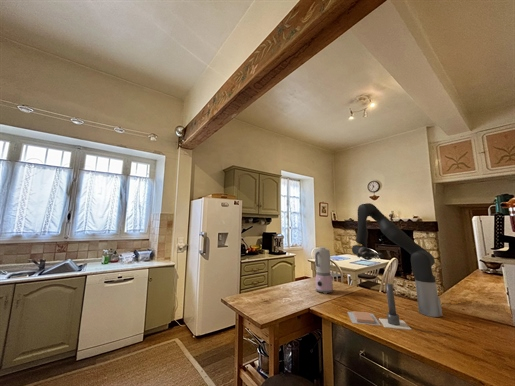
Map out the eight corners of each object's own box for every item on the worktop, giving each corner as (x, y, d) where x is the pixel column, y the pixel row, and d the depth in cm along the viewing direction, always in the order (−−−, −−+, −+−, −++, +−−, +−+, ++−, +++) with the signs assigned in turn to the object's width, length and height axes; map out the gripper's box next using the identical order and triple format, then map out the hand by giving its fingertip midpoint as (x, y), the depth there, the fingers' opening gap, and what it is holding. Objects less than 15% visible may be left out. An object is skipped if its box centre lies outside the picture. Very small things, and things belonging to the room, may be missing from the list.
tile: (368, 312, 112) (374, 320, 102) (369, 315, 112) (374, 323, 102) (352, 311, 114) (356, 319, 104) (353, 314, 113) (357, 322, 104)
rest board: (402, 322, 104) (402, 320, 104) (411, 331, 96) (411, 328, 96) (378, 320, 107) (378, 318, 107) (384, 328, 98) (384, 326, 98)
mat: (372, 314, 114) (372, 313, 114) (381, 326, 100) (381, 325, 100) (347, 312, 117) (347, 311, 117) (352, 324, 103) (352, 322, 103)
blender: (321, 288, 163) (319, 246, 168) (336, 291, 154) (333, 247, 159) (310, 292, 152) (308, 247, 157) (325, 296, 143) (322, 249, 148)
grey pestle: (397, 321, 103) (392, 283, 106) (401, 325, 99) (396, 285, 102) (386, 320, 105) (381, 282, 108) (389, 325, 100) (385, 285, 103)
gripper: (353, 247, 141) (359, 250, 125) (376, 247, 137) (385, 250, 122) (354, 258, 139) (360, 263, 124) (378, 259, 136) (387, 263, 121)
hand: (373, 256), depth 123 cm, fingers open, 8 cm apart
